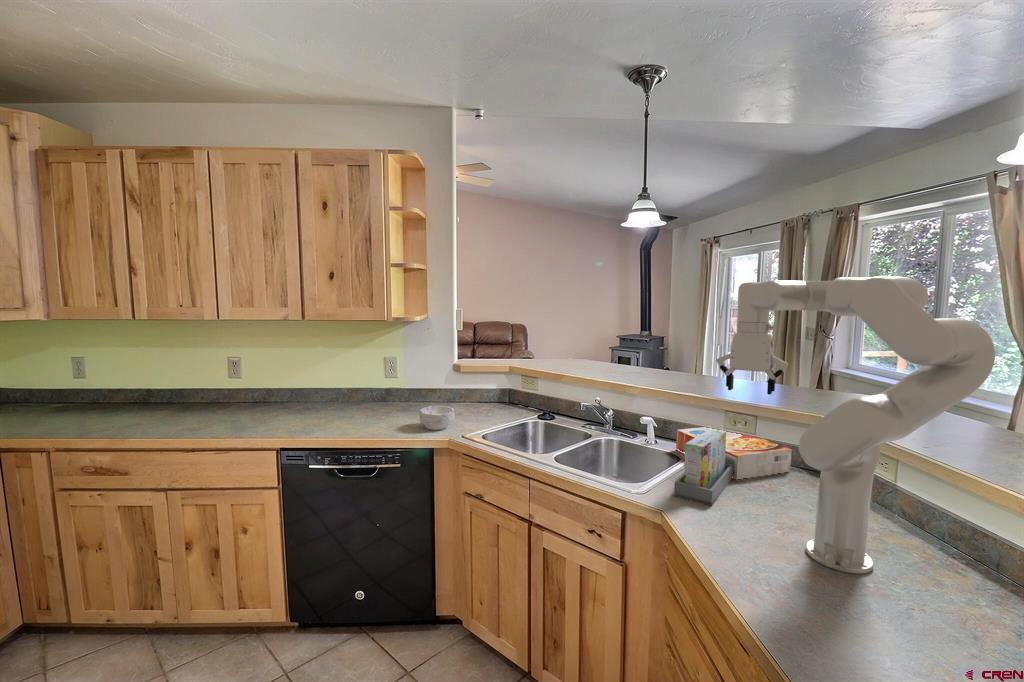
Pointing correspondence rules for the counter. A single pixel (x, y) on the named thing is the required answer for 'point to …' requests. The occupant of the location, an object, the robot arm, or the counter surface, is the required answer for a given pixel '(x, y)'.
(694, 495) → the tray
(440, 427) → the grey bowl
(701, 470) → the snack box
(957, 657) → the counter surface
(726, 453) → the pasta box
